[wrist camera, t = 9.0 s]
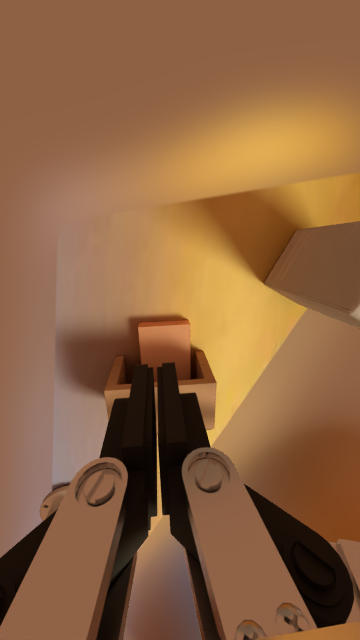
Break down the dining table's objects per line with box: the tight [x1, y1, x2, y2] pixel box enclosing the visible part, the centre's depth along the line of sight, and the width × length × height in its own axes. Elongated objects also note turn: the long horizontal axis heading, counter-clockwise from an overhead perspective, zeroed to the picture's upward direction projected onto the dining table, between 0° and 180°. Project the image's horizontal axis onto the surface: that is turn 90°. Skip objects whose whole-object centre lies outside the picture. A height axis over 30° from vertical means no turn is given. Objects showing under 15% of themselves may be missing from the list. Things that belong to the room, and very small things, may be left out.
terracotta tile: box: [138, 320, 191, 382], centre depth 34 cm, size 12×7×2 cm, turn 1°
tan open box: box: [104, 351, 216, 434], centre depth 31 cm, size 8×13×8 cm, turn 91°
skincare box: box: [264, 221, 360, 329], centre depth 24 cm, size 8×7×16 cm
